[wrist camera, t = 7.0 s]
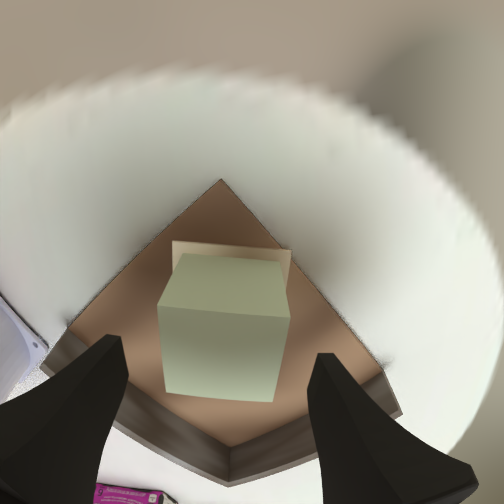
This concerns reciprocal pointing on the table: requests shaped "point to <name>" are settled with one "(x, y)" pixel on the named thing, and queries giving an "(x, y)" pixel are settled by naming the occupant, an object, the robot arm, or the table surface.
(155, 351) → the tray
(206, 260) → the sage cube
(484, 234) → the table surface
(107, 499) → the candy bar box
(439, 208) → the table surface
